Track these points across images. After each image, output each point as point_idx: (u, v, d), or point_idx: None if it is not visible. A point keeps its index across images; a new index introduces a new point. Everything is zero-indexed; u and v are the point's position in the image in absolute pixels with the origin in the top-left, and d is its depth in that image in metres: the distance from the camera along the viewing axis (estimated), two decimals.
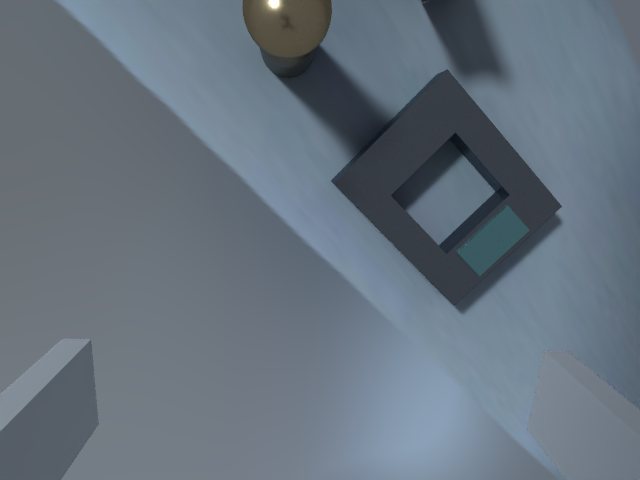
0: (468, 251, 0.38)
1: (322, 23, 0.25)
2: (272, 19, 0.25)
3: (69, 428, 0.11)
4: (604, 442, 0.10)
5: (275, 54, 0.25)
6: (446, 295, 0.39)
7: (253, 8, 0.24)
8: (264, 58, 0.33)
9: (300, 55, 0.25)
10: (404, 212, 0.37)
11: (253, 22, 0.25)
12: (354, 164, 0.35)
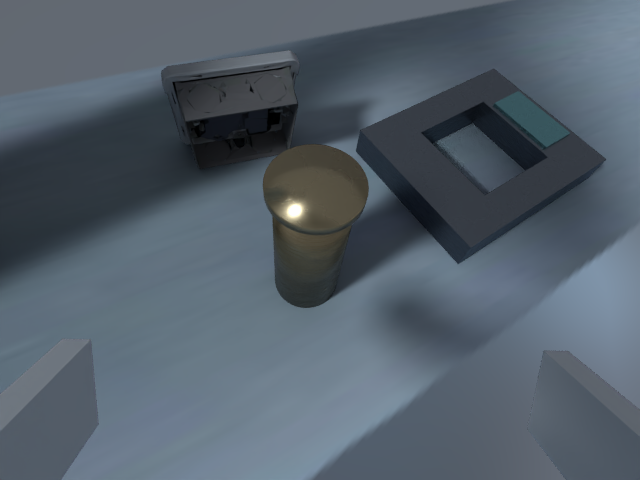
0: (544, 137, 0.35)
1: (337, 155, 0.22)
2: (324, 200, 0.20)
3: (69, 428, 0.11)
4: (604, 442, 0.10)
5: (362, 206, 0.20)
6: (595, 164, 0.35)
7: (308, 216, 0.20)
8: (321, 287, 0.27)
9: None
10: (503, 186, 0.33)
11: (323, 220, 0.20)
12: (449, 223, 0.30)
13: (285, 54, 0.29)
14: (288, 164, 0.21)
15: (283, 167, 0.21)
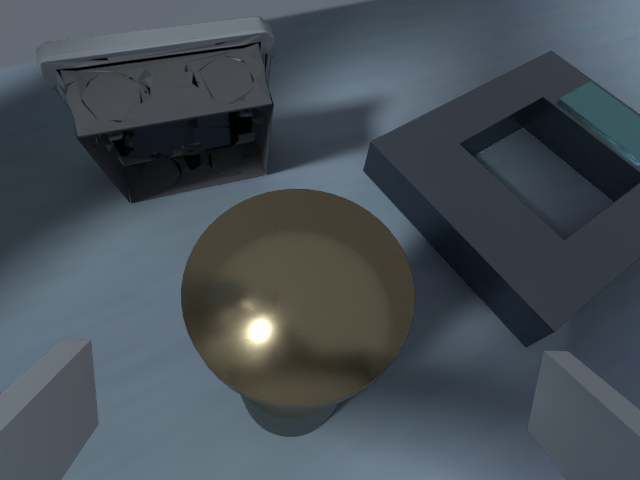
0: (637, 148, 0.24)
1: (344, 213, 0.10)
2: (318, 324, 0.09)
3: (69, 428, 0.11)
4: (604, 442, 0.10)
5: (405, 336, 0.09)
6: None
7: (281, 370, 0.08)
8: (316, 422, 0.15)
9: None
10: (590, 225, 0.22)
11: (317, 378, 0.08)
12: (516, 289, 0.19)
13: (250, 22, 0.17)
14: (241, 236, 0.10)
15: (230, 244, 0.10)
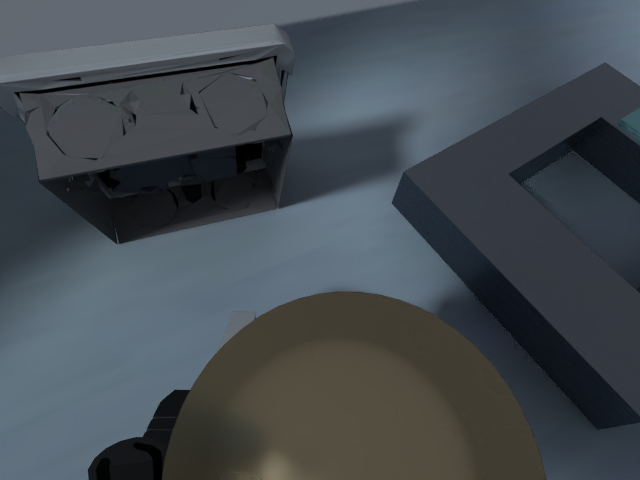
0: None
1: (419, 333, 0.07)
2: None
3: None
4: None
5: None
6: None
7: None
8: None
9: (529, 446, 0.06)
10: None
11: None
12: (591, 363, 0.16)
13: (264, 31, 0.14)
14: (260, 380, 0.06)
15: (243, 395, 0.06)
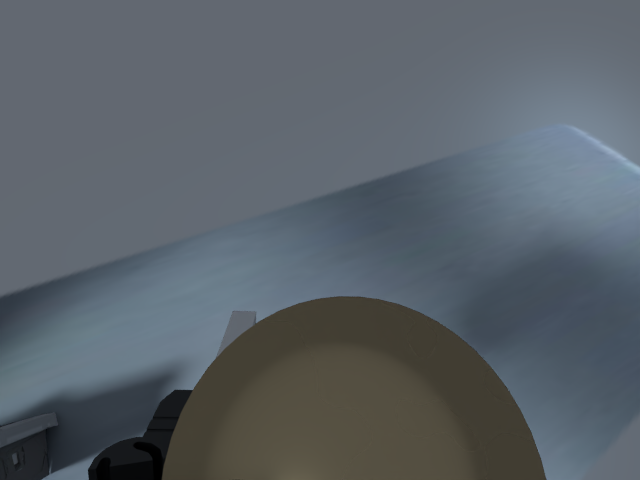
0: None
1: (419, 339, 0.07)
2: None
3: None
4: None
5: None
6: None
7: None
8: None
9: (531, 453, 0.06)
10: None
11: None
12: None
13: None
14: (259, 386, 0.06)
15: (242, 402, 0.06)
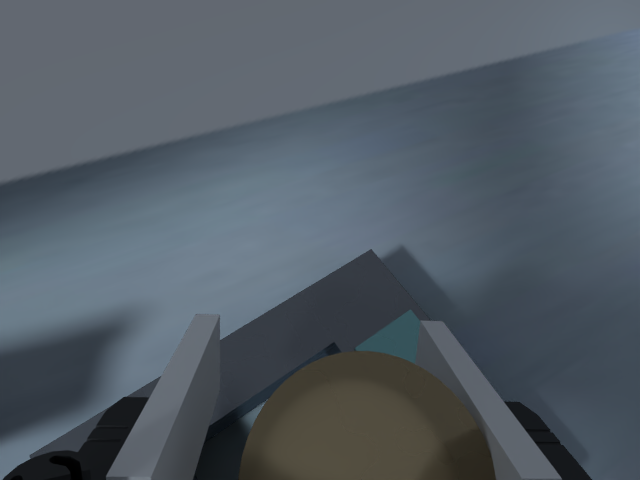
0: None
1: (412, 383, 0.09)
2: None
3: (211, 388, 0.12)
4: None
5: None
6: None
7: None
8: None
9: None
10: None
11: None
12: None
13: None
14: (300, 418, 0.09)
15: (289, 429, 0.09)
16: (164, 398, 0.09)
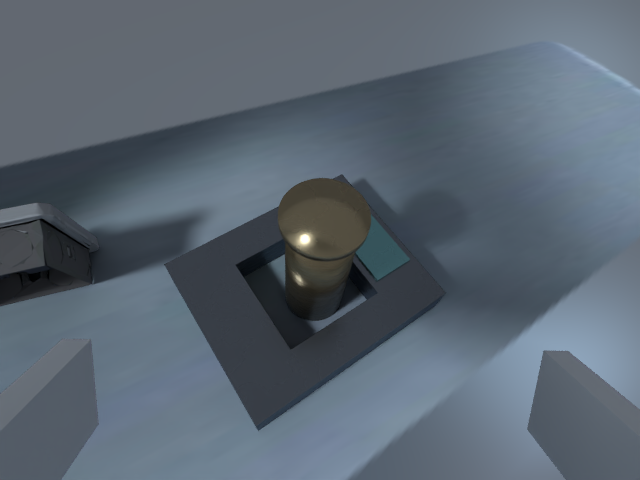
0: (377, 267, 0.31)
1: (343, 188, 0.24)
2: (331, 230, 0.23)
3: (69, 428, 0.11)
4: (604, 442, 0.10)
5: (366, 235, 0.23)
6: (431, 300, 0.30)
7: (318, 245, 0.22)
8: (328, 303, 0.29)
9: None
10: (316, 335, 0.29)
11: (331, 248, 0.22)
12: (238, 391, 0.26)
13: (29, 208, 0.24)
14: (299, 197, 0.24)
15: (295, 200, 0.24)
16: None
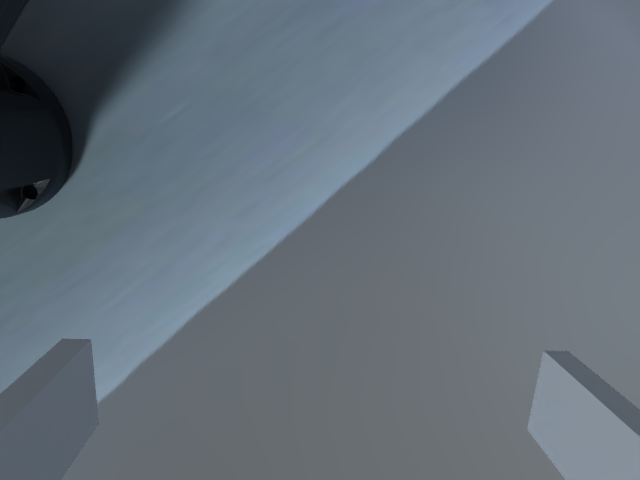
0: None
1: None
2: None
3: (69, 428, 0.11)
4: (604, 442, 0.10)
5: None
6: None
7: None
8: None
9: None
10: None
11: None
12: None
13: None
14: None
15: None
16: None
